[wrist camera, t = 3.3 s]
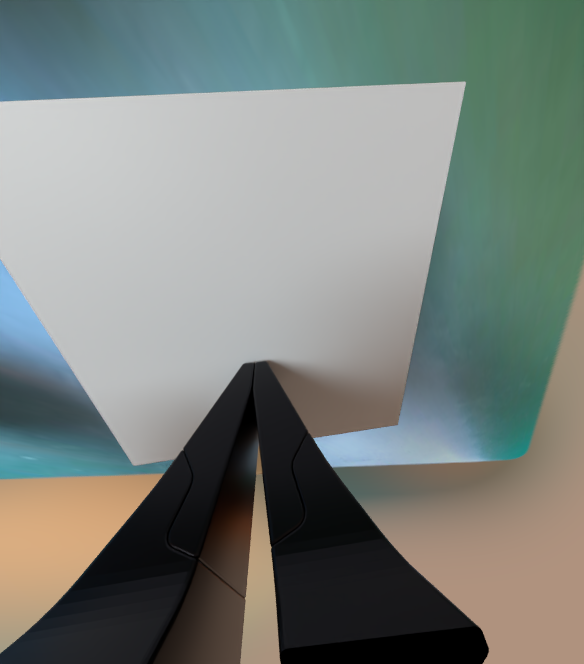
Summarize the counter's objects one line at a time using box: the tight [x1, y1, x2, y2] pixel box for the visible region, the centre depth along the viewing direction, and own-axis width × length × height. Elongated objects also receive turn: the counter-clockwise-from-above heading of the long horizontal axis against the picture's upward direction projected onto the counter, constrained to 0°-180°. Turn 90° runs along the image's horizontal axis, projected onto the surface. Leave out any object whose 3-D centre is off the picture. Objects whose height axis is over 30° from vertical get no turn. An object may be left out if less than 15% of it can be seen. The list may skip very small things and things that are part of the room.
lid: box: [0, 82, 466, 466], centre depth 8 cm, size 12×11×1 cm
